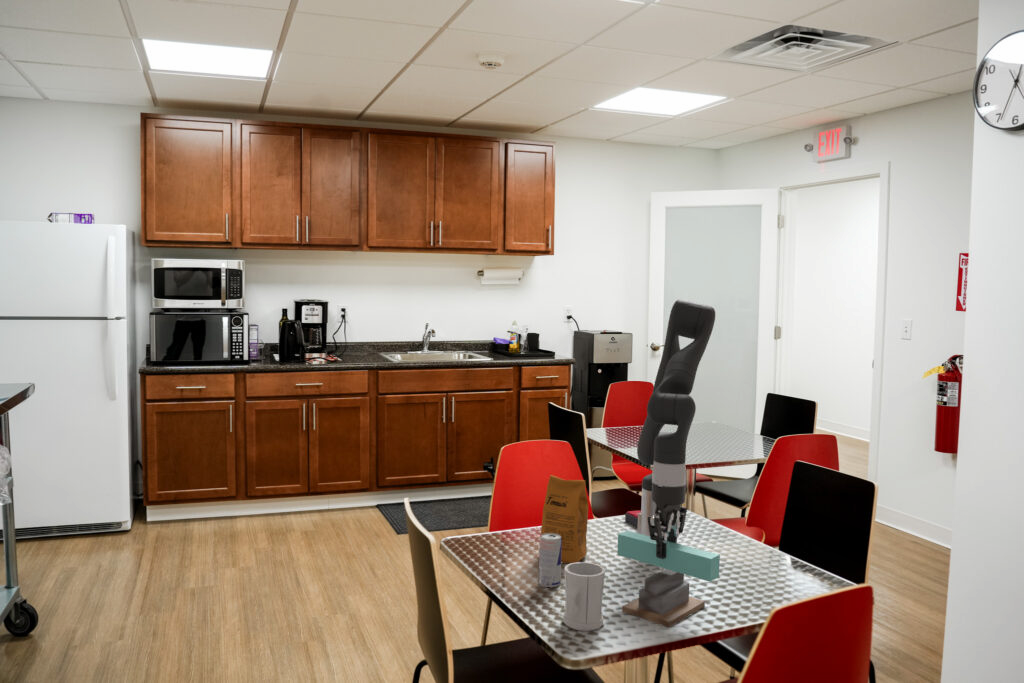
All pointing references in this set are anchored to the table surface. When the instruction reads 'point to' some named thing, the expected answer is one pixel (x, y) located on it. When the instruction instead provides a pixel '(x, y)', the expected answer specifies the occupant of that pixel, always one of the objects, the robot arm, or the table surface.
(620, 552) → the teal bar
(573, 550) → the coffee package
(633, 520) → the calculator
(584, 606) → the cup
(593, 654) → the table surface
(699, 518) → the table surface
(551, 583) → the energy drink
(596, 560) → the table surface
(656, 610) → the ridge block
